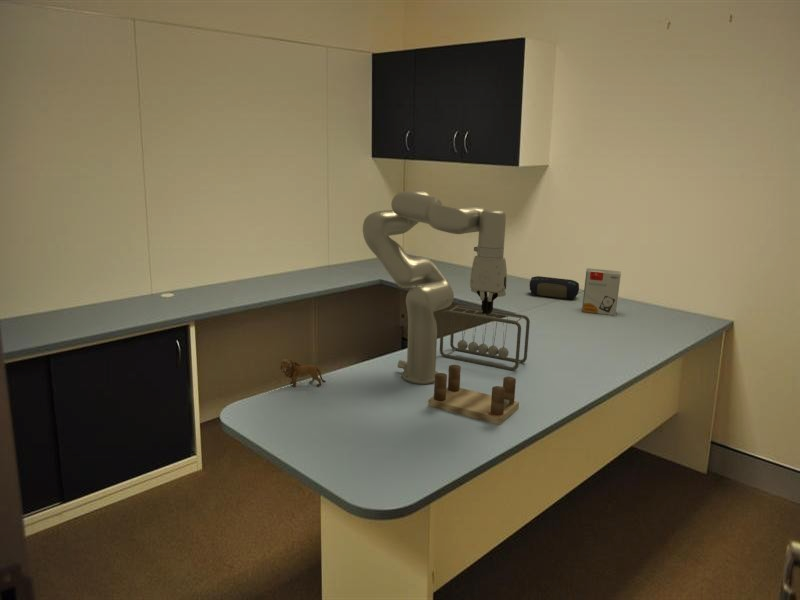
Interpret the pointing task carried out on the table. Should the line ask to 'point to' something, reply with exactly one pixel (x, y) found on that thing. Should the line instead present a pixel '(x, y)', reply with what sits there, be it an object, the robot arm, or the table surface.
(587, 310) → the hard drive box
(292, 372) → the lion figurine
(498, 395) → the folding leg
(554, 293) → the portable speaker
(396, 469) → the table surface
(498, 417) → the stool seat
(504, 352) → the newton's cradle
